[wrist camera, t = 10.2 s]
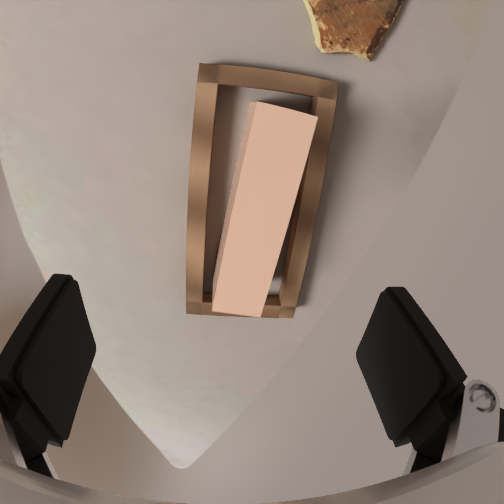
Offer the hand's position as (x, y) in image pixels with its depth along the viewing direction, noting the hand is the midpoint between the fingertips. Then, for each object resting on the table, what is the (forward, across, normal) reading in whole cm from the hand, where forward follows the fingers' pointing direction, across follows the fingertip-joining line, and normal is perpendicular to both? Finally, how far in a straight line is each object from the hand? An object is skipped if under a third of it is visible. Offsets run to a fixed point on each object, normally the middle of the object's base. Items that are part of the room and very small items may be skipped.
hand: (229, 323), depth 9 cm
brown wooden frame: (+18, -2, +2) cm, 18 cm away
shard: (+19, -9, -17) cm, 27 cm away
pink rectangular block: (+18, -2, +2) cm, 18 cm away
